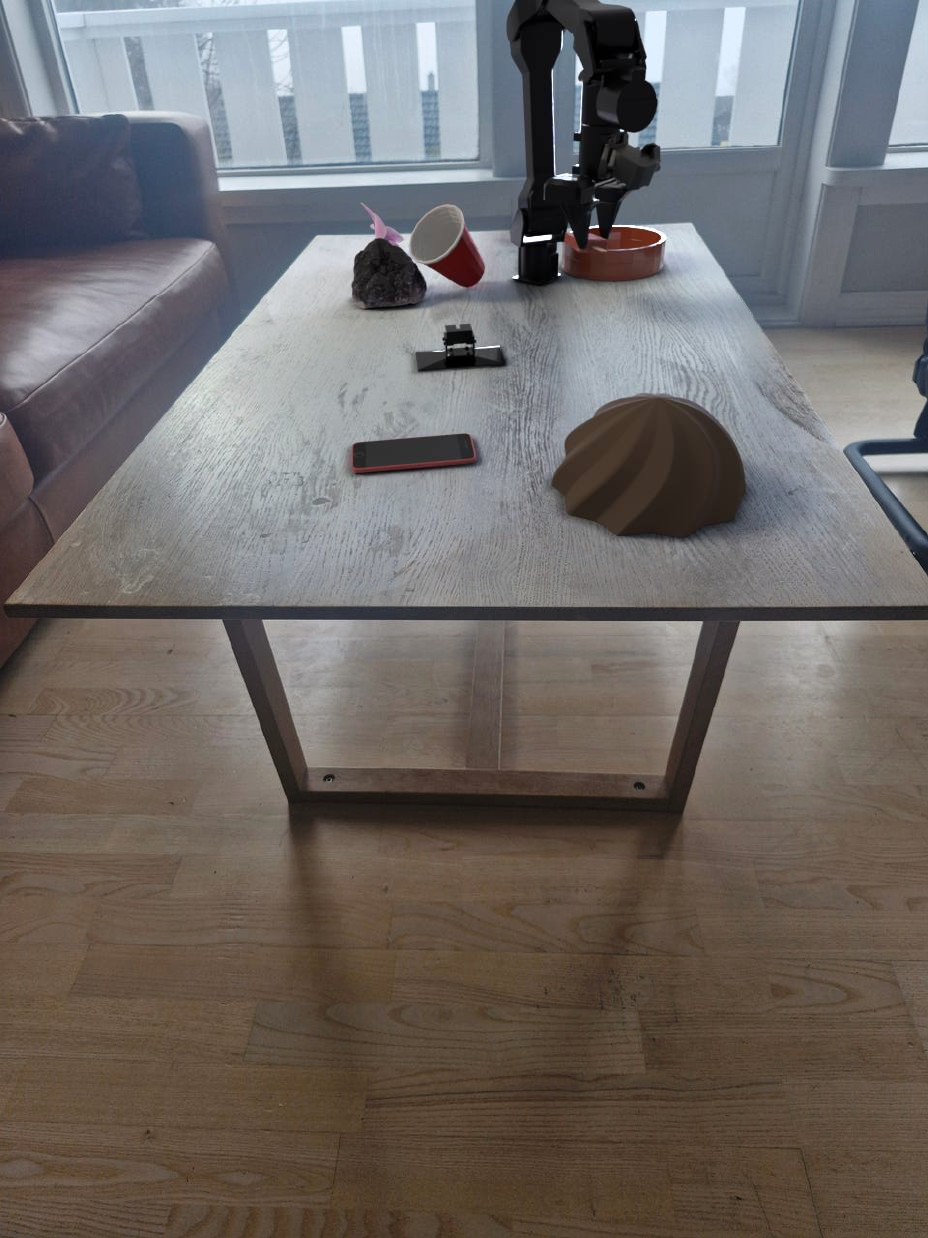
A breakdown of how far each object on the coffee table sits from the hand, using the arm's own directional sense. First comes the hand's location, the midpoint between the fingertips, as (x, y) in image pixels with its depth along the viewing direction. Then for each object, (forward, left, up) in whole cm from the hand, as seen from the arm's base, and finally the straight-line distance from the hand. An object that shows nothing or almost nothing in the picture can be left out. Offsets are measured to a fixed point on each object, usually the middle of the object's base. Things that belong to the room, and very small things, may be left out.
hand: (593, 244), depth 119 cm
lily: (-53, +8, -11) cm, 55 cm away
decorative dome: (+35, -43, -11) cm, 56 cm away
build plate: (-5, -26, -11) cm, 29 cm away
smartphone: (+10, -52, -11) cm, 54 cm away
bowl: (-12, +26, -11) cm, 31 cm away
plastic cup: (-27, +3, -8) cm, 28 cm away
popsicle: (-1, 0, -1) cm, 2 cm away
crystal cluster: (-34, -11, -11) cm, 37 cm away
